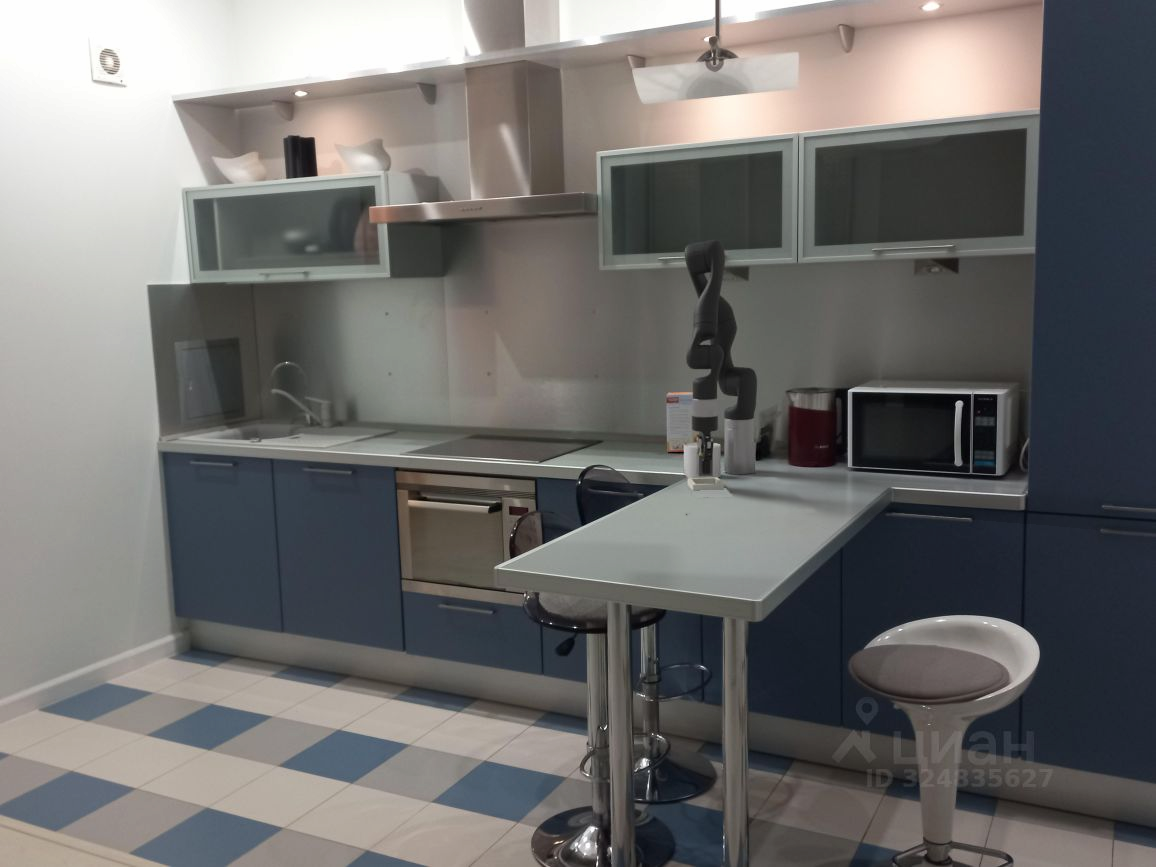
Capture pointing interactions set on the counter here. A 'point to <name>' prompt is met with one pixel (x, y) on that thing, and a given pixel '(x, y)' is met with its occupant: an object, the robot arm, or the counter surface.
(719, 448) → the toilet tissue
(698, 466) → the plug
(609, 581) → the counter surface
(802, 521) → the counter surface
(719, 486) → the cream rectangular tray
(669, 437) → the cracker box
